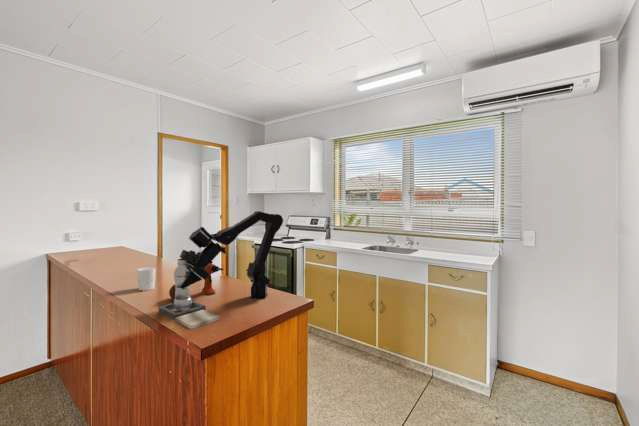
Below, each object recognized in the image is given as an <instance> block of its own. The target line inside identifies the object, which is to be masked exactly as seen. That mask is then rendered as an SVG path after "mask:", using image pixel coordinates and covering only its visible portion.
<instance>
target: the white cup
mask: <svg viewBox="0 0 639 426" xmlns="http://www.w3.org/2000/svg"><path fill="white" fill-rule="evenodd" d="M156 268H157V267H153V266H146V267H140V268H137V270H136V271H137V272H136V273H137V285H138V290H139V291H140V290H142V292H143V291H145V290H146V291H151V289H152V290H154V289H155V285H156V283H155V282H156V270H157V269H156Z"/></svg>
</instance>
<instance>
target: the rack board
mask: <svg viewBox="0 0 639 426" xmlns="http://www.w3.org/2000/svg"><path fill="white" fill-rule="evenodd" d="M220 319H221V317H220V315H217V314H215V313H213V312H210V311H208V310H200V311H197V312H193V313H190V314H186V315H183V316H179V317H176V318H175V320H174V321H175V322H177V323H179V324H180V325H182V326H185V327H186V328H189V329H190V330H192V329H196V328H199V327H202V326H205V325H208V324H211V323H214V322H216V321H220Z"/></svg>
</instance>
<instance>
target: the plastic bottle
mask: <svg viewBox="0 0 639 426" xmlns="http://www.w3.org/2000/svg"><path fill="white" fill-rule="evenodd" d="M187 264H188V260H185V259H182V258H178V259H177V266H176V268H174V271H173V278H174V285H175V299H173V303H174V308H175V309H174V310H175V311H177V312H181V311H185V310H188V309H191V308H192V307H191V305H192V301H193V299H192V296H191V285H189V286H187V287H185V288H183V289H182V288H180V286H181V285H182V283H183V282H184V281H185V279H186V278H187V276H188V275H189V269H190V268H189V267H188V265H187ZM190 270H191V269H190Z"/></svg>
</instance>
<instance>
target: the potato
mask: <svg viewBox="0 0 639 426" xmlns="http://www.w3.org/2000/svg"><path fill="white" fill-rule="evenodd" d="M168 295H169V297H170V299H172V300H174V299H175V284H173V285H172V286H171V287H170V289H169V290H168Z"/></svg>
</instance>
